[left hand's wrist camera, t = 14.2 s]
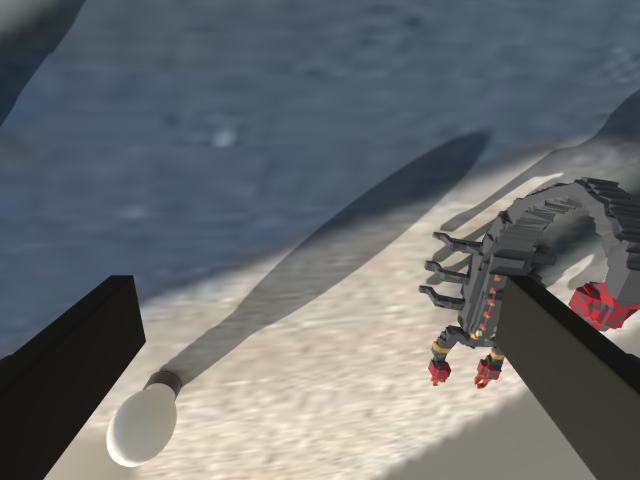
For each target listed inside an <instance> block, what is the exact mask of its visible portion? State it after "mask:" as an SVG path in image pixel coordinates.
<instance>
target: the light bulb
mask: <svg viewBox="0 0 640 480" xmlns="http://www.w3.org/2000/svg"><path fill="white" fill-rule="evenodd" d="M180 389H181V382H180V380H179V379H178V378H177V377H176V376H175V375H173V374H171V373H168V372H157V373H154V374H153V375H152V376H151V377H150V379H149V380H148V382H147V384H146V385H145V387H144V389H143V390H142V391H140V392H137V393H136V394H134V395H132V396H131V397H129V398H128V399H127V400H126V401H125V402H124V403H123V404H122V405H121V406H120V407H119V408H118V410H117V411H116V413H115V415H114V416H113V418H112V420H111V422H110V425H109V428H108V432H107V448H108V451H109V454H110V456H111V457H112V459H113V460H114V461H116V462H117V463H119V464H120V465H123V466H129V467H133V466H138V465H141V464H144V463H146V462H148V461H149V460H151V459H153V458H154V457H155V456H156V455H158V454H159V453H160V452H161V451H162V450H163V448H164V447H165V446H166V445H167V443H168V442H169V440H170V438H171V436H172V434H173V431H174V428H175V425H176V420H177V409H176V405H175V402H174V401H175V400H176V398H177V396H178V393H179V391H180Z"/></svg>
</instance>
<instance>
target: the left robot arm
mask: <svg viewBox="0 0 640 480" xmlns="http://www.w3.org/2000/svg"><path fill="white" fill-rule="evenodd" d="M145 342H146V339H145V334H144V329H143V324H142V319H141V314H140V309H139V304H138V299H137V294H136V289H135V284H134V278H133V275H111V276H110V277H109V278H107V279H106V280H105V281H104V282H102V283H101V284H100V285H99V286H97V287H96V288H95V289H94V290H92V291H91V292H90V293H89V294H87V295H86V296H85V297H84V298H82V299H81V300H80V301H79V302H77V303H76V304H75V305H74V306H72V307H71V308H70V309H69V310H67V311H66V312H65V313H64V314H62V315H61V316H60V317H59V318H57V319H56V320H55V321H54V322H52V323H51V324H50V325H49V326H47V327H46V328H45V329H44V330H42V331H41V332H40V333H39V334H37V335H36V336H35V337H34V338H32V339H31V340H30V341H29V342H27V343H26V344H25V345H24V346H22V347H21V348H20V349H19V350H17V351H16V352H15V353H14V354H12V355H8V356H6V357H5V358H3V359H1V360H0V480H43V479H44V478H45V477H46V475H47V474H48V473H49V471H50V470H51V468H52V467H53V466H54V464H55V463H56V462H57V460H58V459H59V458H60V456H61V455H62V454H63V452H64V451H65V450H66V448H67V447H68V446H69V444H70V443H71V442H72V440H73V439H74V438H75V436H76V435H77V434H78V432H79V431H80V430H81V428H82V427H83V426H84V424H85V423H86V422H87V420H88V419H89V417H90V416H91V415H92V413H93V412H94V411H95V409H96V408H97V407H98V405H99V404H100V403H101V401H102V400H103V399H104V397H105V396H106V395H107V393H108V392H109V391H110V389H111V388H112V387H113V385H114V384H115V383H116V381H117V380H118V379H119V377H120V376H121V375H122V373H123V372H124V370H125V369H126V368H127V366H128V365H129V364H130V362H131V361H132V360H133V358H134V357H135V356H136V354H137V353H138V352H139V350H140V349H141V348H142V346H143V345H144V344H145ZM494 342H495V344H496V345H497V346H498V348H499V349H500V350H501V352H502V353H503V354H504V356H505V357H506V358H507V360H508V361H509V362H510V364H511V365H512V366H513V368H514V369H515V370H516V372H517V373H518V375H519V376H520V377H521V379H522V380H523V381H524V383H525V384H526V385H527V387H528V388H529V389H530V391H531V392H532V393H533V395H534V396H535V397H536V399H537V400H538V401H539V403H540V404H541V405H542V407H543V408H544V409H545V411H546V412H547V413H548V415H549V416H550V417H551V419H552V420H553V422H554V423H555V424H556V425H557V427H558V428H559V430H560V431H561V432H562V434H563V435H564V436H565V438H566V439H567V440H568V442H569V443H570V444H571V446H572V447H573V448H574V450H575V451H576V452H577V454H578V455H579V456H580V458H581V459H582V460H583V462H584V463H585V464H586V466H587V467H588V468H589V470H590V471H591V472H592V474H593V475H594V476H595V478H596V479H597V480H640V358H638V357H636V356H634V355H633V354H626V353H625V352H624V351H623V350H621V349H620V348H619V347H618V346H616V345H615V344H614V343H613V342H611V341H610V340H609V339H608V338H606V337H605V336H604V335H603V334H601V333H600V332H599V331H598V330H596V329H595V328H594V327H593V326H591V325H590V324H589V323H588V322H586V321H585V320H584V319H583V318H581V317H580V316H579V315H578V314H576V313H575V312H574V311H573V310H571V309H570V308H569V307H568V306H566V305H565V304H564V303H563V302H561V301H560V300H559V299H558V298H556V297H555V296H554V295H553V294H551V293H550V292H549V291H548V290H546V289H545V288H544V287H543V286H541V285H540V284H539V283H538V282H536V281H535V280H534V279H533V278H531V277H530V276H529V275H507V278H506V283H505V289H504V294H503V299H502V304H501V309H500V314H499V319H498V324H497V329H496V334H495V339H494Z"/></svg>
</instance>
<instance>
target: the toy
mask: <svg viewBox="0 0 640 480" xmlns="http://www.w3.org/2000/svg"><path fill="white" fill-rule="evenodd" d="M618 184H619V183H617V182H613V181H606V180H599V179H593V178H586V177H582V178H581V180H576V179H575V181H574V183H571V184H564V183H556V184H555V185H552V186H551V187H546V189H541V191H536V193H533V194H531V195H527V196H526V197H525V198H524V199H523V198H516V200H514V202H513V205H510V207H508V208H507V210H505V211H500V212H499V214H498V215H497V217H496V219H495V221H494V223H493V225H492V226H491V228H490V230H488V231H487V233H486V234H485V236H484V238H483V240H482V242H474V241H465V240H460V239H454V238H451V237H449V236H448V235H447V234H445V233H437V232H434V233H433V237H434V238H436V239H439V240H442V241H443V242H444V243H445V244H446V245H447V246H448V247H449V249H450V250H452V251H462V253H471V254H472V257H471V260H470V263H469V266H468V267H469V270H468V272H467V274H466V275H465V274H463V273H457V272H452V271H447V270H444V269H442V267H441V266H440V264H438V263H437V262H433V261H426V263H425V267H424V268H425V269H426V270H429V271H433V272H435V273H437V274H438V276H439V277H440V278H441V279H442V280H444V281H446V282H453V283H460V284H463V285H462V289H461V292H460V293H461V294H462V295H463V298H462V299H460V298H452V297H448V296H443V295H438V294H437V293H436V292H435V291H434V289H433V288H432V287H428V286H419V292H421V293H425V294H428V295H429V297H430V299H431V300H432V302H433V303H434V305H435V306H438V307H442V308H448V309H453V310H459V311H458V313H459V315H458V322H459V324H460V325H461V327H462V328H461V327H457V326H451V325H449V326H448V327H446V330H445V331H442V332H441V335H440V337H438V339H437V340H436V342H435V341H434V342H433V345H432V349H431V350H432V353H433V355H434V358H433V360H432V359H431V362H430V365H429V367H428V369H429V371H430V372H431V374H432V379H431V381H433V386H437V385H438V384H437V383H438V381H440V382H445V380H446V379H447V377H449V375H450V372H451V369H450V367H449V364H448V362H445V358H446V355H447V353H448V352H449V351H450V350H451V348H452V347H453V346H454V345H455V344H456V342H457V341H459V342H460V343H461V344H463V345H466V346H470V347H471V348H473V349H474V348H475V347H492V349H491V352H490V354H489V355H487V357H486V359H485V360H483V359H481V360H480V362H479V365H478V368H477V370H478V375H477V376H476V377H475V384H477V383H479V382H480V380H481V379H484V380H483V383H479V384H477V388H478V389H480V388H484V387H485V386H486V385H487V384H488V382H489V381H490V380H492V379H494V380H497V379H498V378H499V374H500V372H501V371H502V370H501V367H502V364H503V360H504V357H505V356H504V354H503V353H502V352H501V350H500V349H499V348H498V346H497V345H496V344H495V342H494V339H495V334H496V329H497V324H498V319H499V314H500V309H501V304H502V299H503V294H504V289H505V283H506V278H507V275H529V276H530V277H531V278H533V279H534V280H535V281H536V282H538V283H539V284H540V285H541V286H543V287H544V288H546V285H544V284H543V283H542V282H541V280H542V278H541V277H540V276H539V275H533V274H528V272H529V269H530V266H531V263H539V264H549V265H554V264H555V262H556V259H557V257H556V256H554V255H552V254H551V253H552V251H553V250H552V249H551V248H549V247H542V246H539V249H538V252H537V253H535V250H536V248H537V247H536V246H535V245H534V244H535V243H536V241H538V239H539V237H540V236H542V233H543V230H544V229H545V228H547V226H548V225H549V224H550V222H553V218H554V216H555V213H563V214H565V212H566V211H568V210H569V209H570V210H575V208H580V207H582V208H583V209H586V210H588V211H589V216H591V217H593V218H595V219H594V222H595V223H596V233H598V234H600V235H601V236H602V237H601V240H603V247H604V251H605V254H606V255H605V257H608V258H609V259H608V261H607V264H608V267H609V271H608V274H607V277H606V279H605V282H602V283H597V282H589V284H588V283H586V284H585V285H584V286H582V287H578V288H576V290H575V292H574V294H573V296H572V298H571V300H570V302H569V306H570V307H571V309H572V310H573V311H574V312H575V313H576V314H578V315H579V316H580V317H581V318H583V319H584V320H585V321H586V322H588V323H589V324H590V325H591V326H593V327H594V328H595V329H596V330H598V331H604V332H606V331H607V330H608V329H609V328H613V329H616V328H621V327H622V325H623V322H624V321H625V320H626V319H627V318H628V317H630V316H631V315H632V314H633V313H635V312H637V311H638V310H640V202H636V201H633V200H630V199H631V196H632V195H630V194H628V193H626V192H625V191H624V190H622V189H620V188H618V187H617V186H618Z"/></svg>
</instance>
